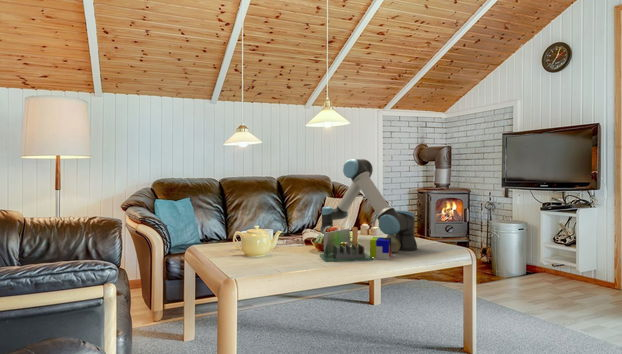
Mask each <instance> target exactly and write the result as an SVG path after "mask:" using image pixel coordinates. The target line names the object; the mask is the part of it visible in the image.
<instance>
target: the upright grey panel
mask: <svg viewBox="0 0 622 354" xmlns="http://www.w3.org/2000/svg"><path fill="white" fill-rule="evenodd" d="M336 230H337V231H330V232H324V237H323V254H333V245H336V246H337V247H339V252H340V243H341V242H348V245H349V246H351V245H350V244H351V235H350V234H351V228H345V229H336ZM345 248H346V247H345Z"/></svg>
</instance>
